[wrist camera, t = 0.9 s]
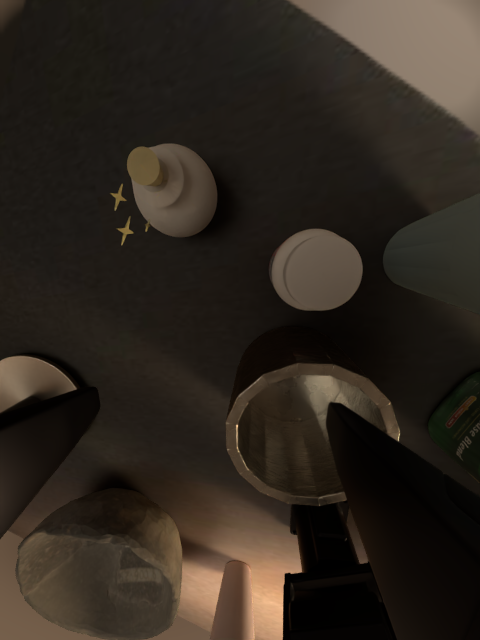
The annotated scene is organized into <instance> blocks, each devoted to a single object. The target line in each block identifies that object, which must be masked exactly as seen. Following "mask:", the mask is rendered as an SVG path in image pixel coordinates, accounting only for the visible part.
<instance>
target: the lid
mask: <svg viewBox="0 0 480 640" xmlns="http://www.w3.org/2000/svg"><path fill="white" fill-rule="evenodd" d="M79 388H80V386H79V385H78V383H77V382H76V381H75V379H74V378H73V377H72V376H71V375H70V374H69V373H68V372H67V371H66V370H64V369H63V368H62V367H60V366H59V365H57V364H56V363H54V362H52V361H50V360H48V359H46V358H43V357H40V356H35V355H29V354H19V355H14V356H10V357H8V358H5V359H3V360H1V361H0V414H3V413H6V412H9V411H12V410H15V409H18V408H21V407H24V406H27V405H30V404H33V403H36V402H40V401H43V400H46V399H49V398H52V397H55V396H58V395H61V394H64V393H67V392H70V391H73V390H76V389H79Z"/></svg>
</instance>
